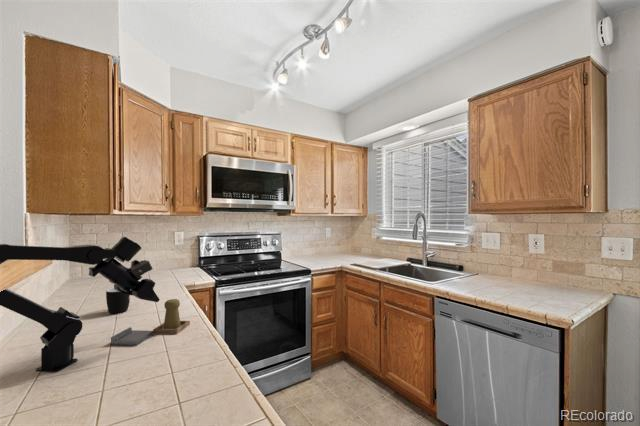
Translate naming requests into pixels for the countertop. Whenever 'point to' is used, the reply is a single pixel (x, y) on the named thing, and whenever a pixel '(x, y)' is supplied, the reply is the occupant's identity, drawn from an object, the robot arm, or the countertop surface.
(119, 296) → the mug
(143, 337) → the gray hardcover book
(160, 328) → the socket collar
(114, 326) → the countertop surface
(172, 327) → the cork
